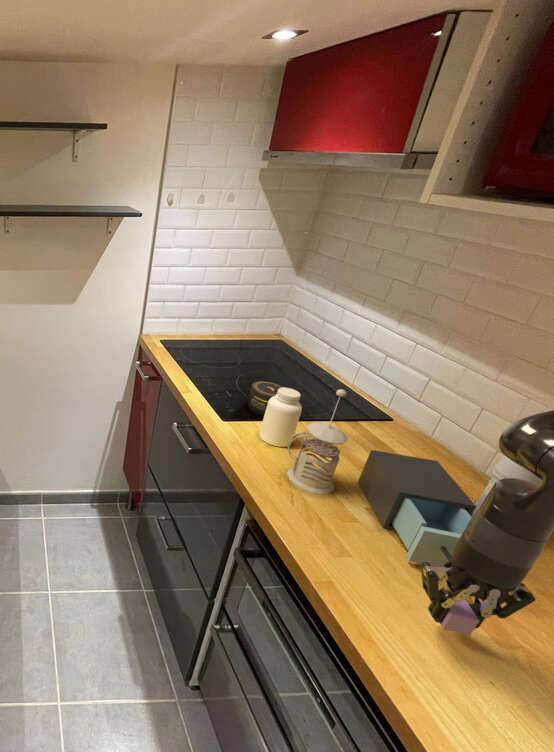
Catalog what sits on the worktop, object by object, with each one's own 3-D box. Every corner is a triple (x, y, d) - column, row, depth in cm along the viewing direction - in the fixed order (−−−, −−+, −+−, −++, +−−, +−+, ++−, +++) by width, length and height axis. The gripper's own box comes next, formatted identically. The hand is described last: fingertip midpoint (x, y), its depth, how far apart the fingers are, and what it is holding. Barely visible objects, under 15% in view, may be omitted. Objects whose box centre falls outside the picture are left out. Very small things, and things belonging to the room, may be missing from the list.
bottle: (462, 509, 100) (503, 434, 92) (501, 519, 97) (547, 443, 89) (473, 529, 94) (519, 452, 86) (516, 541, 92) (566, 462, 83)
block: (457, 615, 74) (466, 600, 72) (469, 635, 71) (479, 620, 69) (431, 609, 75) (440, 594, 73) (442, 629, 72) (451, 614, 70)
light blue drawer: (499, 601, 78) (521, 569, 75) (421, 582, 81) (438, 551, 78) (443, 524, 94) (459, 495, 91) (379, 511, 97) (392, 483, 94)
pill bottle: (294, 439, 123) (310, 392, 117) (285, 451, 118) (301, 403, 112) (264, 427, 128) (277, 381, 122) (254, 439, 123) (267, 391, 117)
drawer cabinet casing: (455, 543, 91) (476, 506, 87) (382, 527, 94) (399, 491, 90) (420, 494, 104) (437, 460, 100) (357, 482, 107) (371, 449, 103)
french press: (338, 499, 102) (375, 405, 92) (281, 485, 106) (311, 393, 96) (329, 473, 110) (363, 384, 100) (277, 461, 114) (304, 374, 104)
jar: (259, 399, 143) (264, 378, 140) (289, 413, 136) (296, 391, 132) (239, 406, 139) (245, 385, 136) (269, 422, 131) (276, 399, 128)
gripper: (454, 552, 64) (409, 630, 71) (580, 579, 60) (520, 658, 68) (428, 515, 71) (390, 589, 78) (541, 537, 67) (489, 613, 74)
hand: (450, 621), depth 73 cm, fingers closed on block, 3 cm apart
